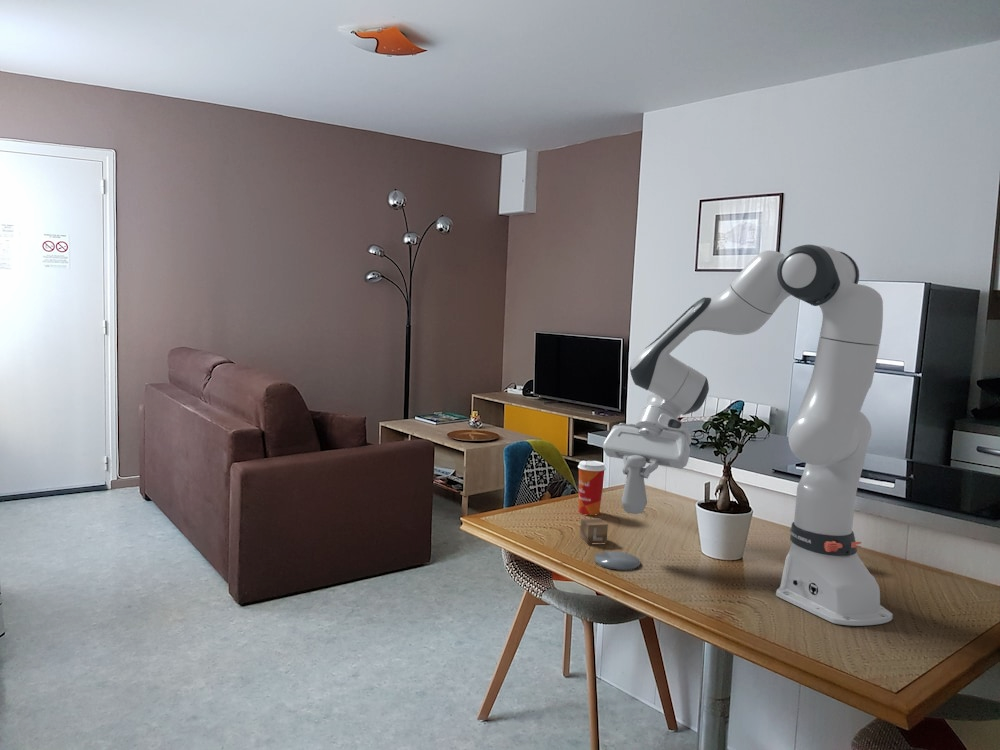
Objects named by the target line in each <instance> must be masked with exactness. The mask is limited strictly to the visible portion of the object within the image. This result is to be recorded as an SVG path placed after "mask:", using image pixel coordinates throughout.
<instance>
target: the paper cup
mask: <svg viewBox="0 0 1000 750" xmlns="http://www.w3.org/2000/svg"><path fill="white" fill-rule="evenodd" d="M577 468H578V513H579V512H580V513H582V514H581V515H583V514H587V515H586V516H588V515H595V514H598V515H599V514H600V511H601V510H600V509H601V502H602V494H603V487H604V480H605V479H604V478H605V470H607V468H606V466H605V462H601V461H599V460H581V461H579V463H578V465H577ZM580 513H579V514H580ZM595 516H596V515H595Z"/></svg>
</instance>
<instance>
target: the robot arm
mask: <svg viewBox="0 0 1000 750" xmlns="http://www.w3.org/2000/svg"><path fill="white" fill-rule="evenodd" d="M859 280H860V270H859V267H858V264H857V263H856V261H855V259H853V258H852V257H851V256H850V255H849V254H847V253H845V252H843V251H839V250H836V249H835V248H833V247H829V246H825V245H815V244H802V245H798V246H795V247H794V248H792V249H790V250H788V251H787V252H786V253H785V254H783V253H782V252H779V251H776V250H764V251H761V252H760V253H758V254H757V255H756V256H755V257H754V258H753V259H752V260H750V261H749V262H748V263H747V264H746V265H745V266H744V268H742V270H741V271H740V272H739V273H738V274H737V275H736V276H735V278H734V279H733V280H732V282H731V283H730V284H729V285H728V286H727V288H726V289H724V290H723V291H722V292H721V293H719V294H716V295H714V296H712V297H702V298H700V299H699V300H697V301H696V302H694V303H693V304H692V305H691V306H689V308H688V309H686V310H685V311H684V312H683V313H682V314H681V315H679V317H678V318H677V319H675V321H673V323H671V324H670V325H669V326H668V327H667V328H666V329H665V330H664V331H663V332H662V333H661V334H660V335H659V336H658V337H657V338H656V339H655V340H654V341H652V342H651V343H650V344H648V346H646V347H645V348H644V349H643V350H641V351H640V352H639V353H638V354H637V355H636V356H635V358H634V359H633V361H632V363H631V366H630V367H629V371H630V375H631V378H632V380H633V383H634V385H636V386H638V387H640V388H642V389H643V390H645V391H649V394H648V396H647V398H646V405H645V406H643V408H642V410H641V412H640V413H639V416H638V418H637V420H636V423H635V424H633V423H625V422H620V423H619V424H615V425H613V426H612V427H611V430H610V432H609V433H608V434H607V437H606V438H605V440H604V442H603V444H602V449H603V451H604V453H605V454H606V456H607V457H609V458H614V459H615V458H616V459H621V460H623V463H624V464H623V465H624V466H623V468H622V473H623V475H626V476H627V473H628V472H629V466H628V465H627V458H628V457H629V456H631V455H639V456H643V457H644V458H645V459H646V464H648V466H645V467H643V468H642V471H641V472H640V475H641V477H642V478H644V479H647V480H648V479H649V477H650V475H651V473H653V472H654V471H656V470H657V469H658V468H659V466H661V467H669V468H674V469H679V470H680V469H683V468H685V467H686V466H687V464H688V463H689V459H690V455H691V447H690V445H691V443H692V441H693V440H692V435H691V432H690V430H689V428H688V425H687V424H686V422H683V421H681V420H679V417H680V416H681V415H682V416H686V415H689V414H692V413H695V412H697V411H699V410H700V408H702V406H703V405H704V403H705V401H706V399H707V395H708V393H709V390H710V386H709V381H708V378H707V376H705V375H704V374H703V373H701V372H699V371H698V370H696V369H695V368H694V367H692V366H690V365H687V364H685V363H684V362H682V361H681V360H679V359H678V358H675V357H674V356H672V355H671V353H672V352H673V351H674V350H675V349H676V348H677V347H678V346H679V345H680V344H682V343H683V342H684V341H685V340H686V339H687V338H688V337H689V336H690V335H691V334H693V333H696V332H699V331H711V332H712V331H713V332H718V333H724V334H727V335H733V336H739V335H740V336H741V335H742V336H744V335H749V334H753V333H755V332H758V331H759V330H760V328H762V327H763V326H764V325H765V324H766V323H767V322H768V320H770V318H771V317H772V315H774V313H776V311H777V309H779V307H780V306H781V305H782V303H783V302H784V301H785V300H786V299H787V298H788V297H791V296H792V297H793V298H796V299H799V300H800V301H803V302H805V303H807V304H809V305H811V306H814V307H817V306H818V307H819V308H820V310H821V312H822V321H821V326H820V327H821V328H820V332H819V333H820V334H819V338H818V344H817V348H816V353H815V359H814V364H813V368H812V374H811V378H810V380H809V383H808V386H807V388H806V392H805V394H804V396H803V398H802V402H801V405H800V408H799V412H798V413H797V416H796V419H795V421H794V423H793V424H792V426H791V428H790V430H789V433H788V437H787V438H788V445H789V448H790V450H791V452H792V454H793V455H794V456H795V457H796V458H797V459H798V460H800V461H801V462H803V463H805V465H804V470H803V473H802V475H801V477H800V480H799V482H798V484H797V487H796V496H795V508H794V509H795V510H794V518H793V522H792V523H791V528H790V531H789V532H790V537H789V540H790V542H791V545H790V547H789V550H788V552H787V554H786V557H785V561H784V565H783V569H782V570H783V571H782V574H781V575H782V576H781V581H780V585H779V587H778V588H777V589H776V592H775V596H776V597H778V598H780V599H782V600H784V601H785V602H788V603H790V604H792V605H795V606H797V607H799V608H801V609H803V610H805V611H807V612H809V613H811V614H813V615H815V616H817V617H820V618H821V619H823V620H826V621H828V622H830V623H832V624H836V625H843V626H855V627H857V626H861V627H862V626H874V625H875V626H876V625H882V624H887V623H889V622H891V621H893V619H894V617H893V616H894V615H893V613H892V612H891V611H890V610H888V609H886V608H885V607H884V606H883V605H881V592H880V591H881V589H880V585H879V584H878V582H877V581H876V578H875V576H874V575H873V574H871V573H870V570H869V569H868V568H867V566H865V564H864V563H863V561H862V559H861V558H860V556H859V555H858V554H857V552H858V548H862V546H861V545H860V544H862V541H856V537H855V533H854V531H853V523H854V516H855V515H854V514H855V505H856V498H857V492H858V486H859V484H860V483H859V482H860V479H861V477H862V476H861V475H862V471H863V467H864V463H865V458H866V454H867V449H868V445H869V442H870V439H871V437H872V426H871V422H870V420H869V419H868V417H867V416H866V415H865V414H864V413H863V412H861V410H862V407H863V405H864V401H865V399H866V396H867V395H868V392H869V390H870V389H871V387H872V384H873V380H874V376H875V370H876V366H877V365H876V364H877V359H878V355H879V350H880V346H881V338H882V332H883V321H884V318H883V317H884V303H883V298H882V296H881V294H880V292H878V290H875V288H872V287H870V286H867V285H865V284H859Z"/></svg>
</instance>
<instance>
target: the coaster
mask: <svg viewBox="0 0 1000 750" xmlns="http://www.w3.org/2000/svg"><path fill="white" fill-rule="evenodd" d="M595 562H596V563H598V564H599V565H601V566H603V567H602V568H604V567H606V568H605V569H607V568H610V569H609V570H612V569H617V570H616V571H623V570H624V571H631V569H633V570H636V569H638V568H639V567H640V566H641V565H640V563H641V561H640V559H639V558H638V557H637V556H635V555H633V554H630V553H627V552H623V551H602V552H599V553H596V554H595V555H594V563H595ZM596 563H595V564H596ZM598 564H597V565H598ZM599 565H598V566H599ZM601 566H600V567H601ZM637 567H638V568H637ZM635 568H636V569H635Z"/></svg>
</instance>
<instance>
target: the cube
mask: <svg viewBox="0 0 1000 750" xmlns="http://www.w3.org/2000/svg"><path fill="white" fill-rule="evenodd" d="M579 525H580V526H579V539H580V538H581V539H582V540H584V541H585V542H586V543H587V544H592V543H607V544H608V531H609V530H608V528H609V524H608V523H607V522H606V521H605V520H604V519H602V518H599V517H596V518H595V517H594V518H592V517H591V518H580V524H579ZM581 539H580V540H581ZM582 540H581V541H582ZM585 542H584V543H585ZM586 543H585V544H586ZM587 544H586V545H587Z"/></svg>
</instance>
